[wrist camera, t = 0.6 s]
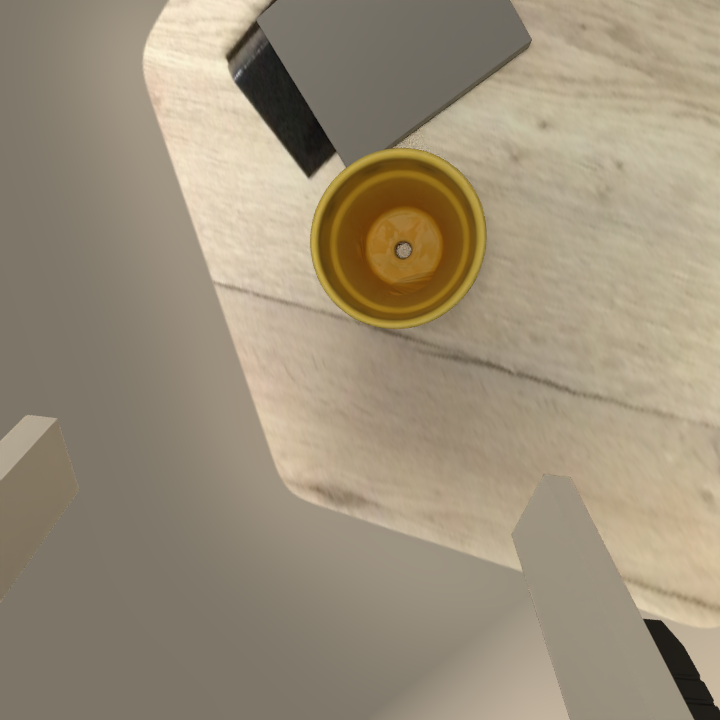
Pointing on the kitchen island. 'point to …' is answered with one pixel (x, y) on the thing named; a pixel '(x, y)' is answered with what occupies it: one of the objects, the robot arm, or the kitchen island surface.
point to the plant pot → (398, 238)
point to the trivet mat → (388, 61)
